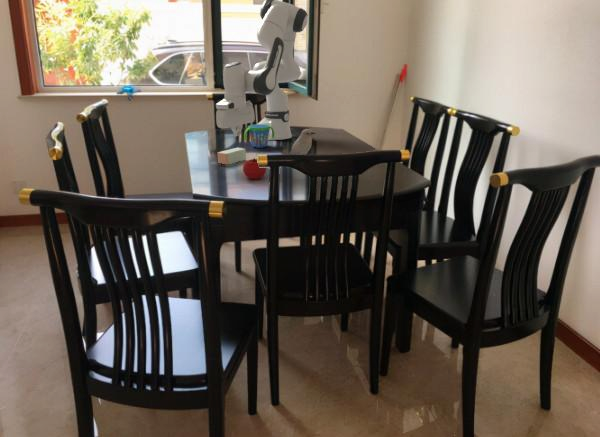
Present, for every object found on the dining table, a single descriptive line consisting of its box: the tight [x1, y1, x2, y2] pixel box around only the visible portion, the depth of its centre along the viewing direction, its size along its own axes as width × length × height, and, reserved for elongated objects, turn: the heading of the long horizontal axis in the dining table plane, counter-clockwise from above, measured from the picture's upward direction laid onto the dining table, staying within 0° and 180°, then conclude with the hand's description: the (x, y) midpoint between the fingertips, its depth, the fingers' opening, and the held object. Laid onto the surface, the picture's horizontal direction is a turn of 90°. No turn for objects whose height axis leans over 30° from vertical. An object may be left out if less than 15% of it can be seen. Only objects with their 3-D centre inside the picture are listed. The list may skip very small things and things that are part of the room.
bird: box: [288, 128, 316, 155], centre depth 212 cm, size 5×14×15 cm, turn 63°
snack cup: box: [243, 123, 274, 149], centre depth 248 cm, size 16×10×10 cm
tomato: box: [242, 157, 267, 180], centre depth 193 cm, size 9×9×8 cm
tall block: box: [216, 147, 247, 166], centre depth 219 cm, size 5×5×12 cm
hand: (237, 135), depth 219 cm, fingers closed
